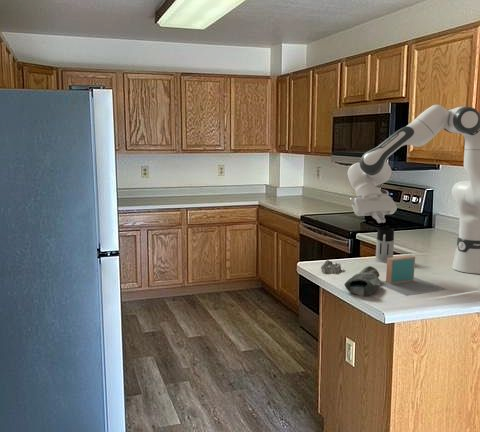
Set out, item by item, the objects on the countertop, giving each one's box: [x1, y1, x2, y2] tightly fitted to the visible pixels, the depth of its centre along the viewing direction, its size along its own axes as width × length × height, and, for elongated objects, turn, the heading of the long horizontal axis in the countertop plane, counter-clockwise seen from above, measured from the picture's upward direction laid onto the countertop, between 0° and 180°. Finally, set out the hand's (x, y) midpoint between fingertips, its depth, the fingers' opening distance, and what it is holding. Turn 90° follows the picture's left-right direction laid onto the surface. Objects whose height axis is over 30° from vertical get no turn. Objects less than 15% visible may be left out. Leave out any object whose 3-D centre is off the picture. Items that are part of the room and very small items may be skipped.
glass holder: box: [374, 227, 395, 264], centre depth 236 cm, size 9×14×15 cm, turn 160°
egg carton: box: [320, 259, 342, 275], centre depth 220 cm, size 10×7×4 cm
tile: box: [385, 254, 416, 284], centre depth 202 cm, size 12×3×10 cm, turn 114°
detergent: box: [344, 265, 381, 297], centre depth 196 cm, size 13×7×25 cm
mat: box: [380, 276, 448, 297], centre depth 198 cm, size 20×18×1 cm
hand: (382, 222), depth 211 cm, fingers closed
